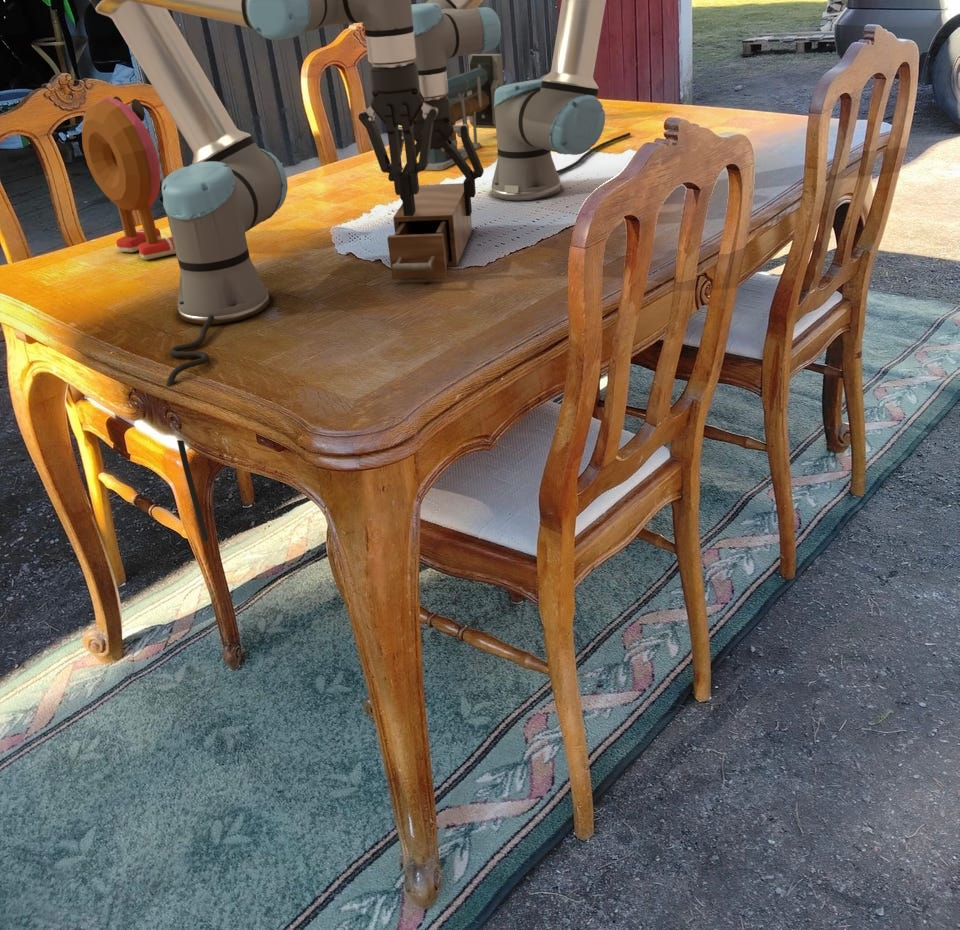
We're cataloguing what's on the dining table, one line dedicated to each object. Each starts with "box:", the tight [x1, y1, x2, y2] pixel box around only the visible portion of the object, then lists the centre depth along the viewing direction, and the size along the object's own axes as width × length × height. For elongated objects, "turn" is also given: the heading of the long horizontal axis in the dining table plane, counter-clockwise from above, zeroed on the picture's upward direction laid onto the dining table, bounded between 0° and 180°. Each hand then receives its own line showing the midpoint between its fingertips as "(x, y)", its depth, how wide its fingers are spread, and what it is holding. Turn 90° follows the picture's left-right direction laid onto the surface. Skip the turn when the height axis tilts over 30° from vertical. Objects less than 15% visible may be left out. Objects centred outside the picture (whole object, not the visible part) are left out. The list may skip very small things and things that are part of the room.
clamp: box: [417, 53, 505, 171], centre depth 247 cm, size 35×9×21 cm, turn 151°
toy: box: [81, 95, 176, 260], centre depth 191 cm, size 21×10×30 cm, turn 47°
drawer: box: [386, 220, 451, 280], centre depth 174 cm, size 25×10×8 cm, turn 173°
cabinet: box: [392, 182, 473, 267], centre depth 184 cm, size 21×11×9 cm, turn 173°
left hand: (409, 213), depth 162 cm, fingers closed
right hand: (439, 215), depth 189 cm, fingers closed on cabinet, 11 cm apart
